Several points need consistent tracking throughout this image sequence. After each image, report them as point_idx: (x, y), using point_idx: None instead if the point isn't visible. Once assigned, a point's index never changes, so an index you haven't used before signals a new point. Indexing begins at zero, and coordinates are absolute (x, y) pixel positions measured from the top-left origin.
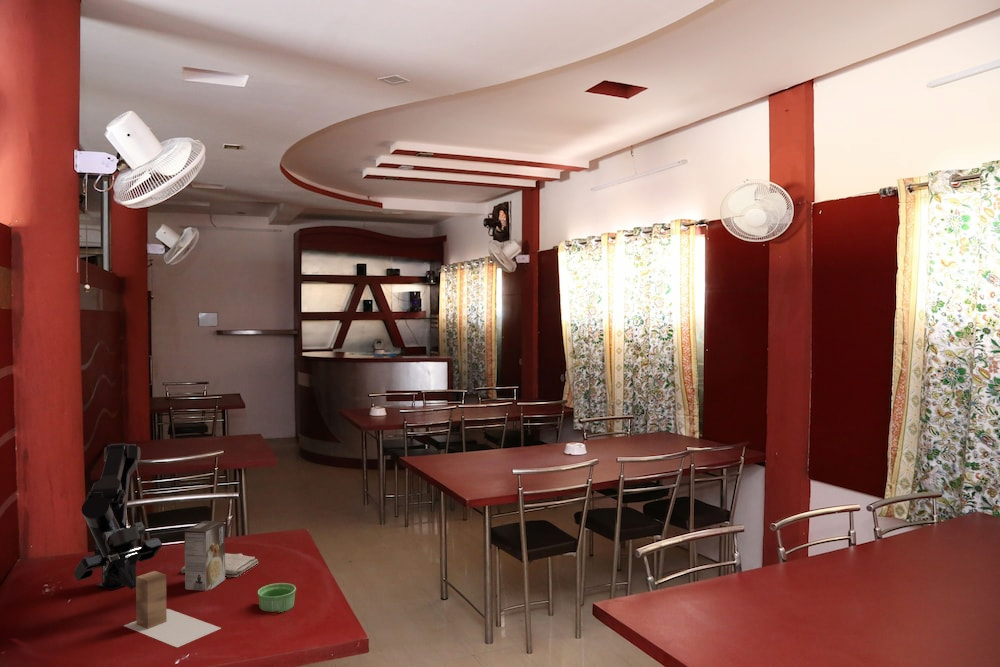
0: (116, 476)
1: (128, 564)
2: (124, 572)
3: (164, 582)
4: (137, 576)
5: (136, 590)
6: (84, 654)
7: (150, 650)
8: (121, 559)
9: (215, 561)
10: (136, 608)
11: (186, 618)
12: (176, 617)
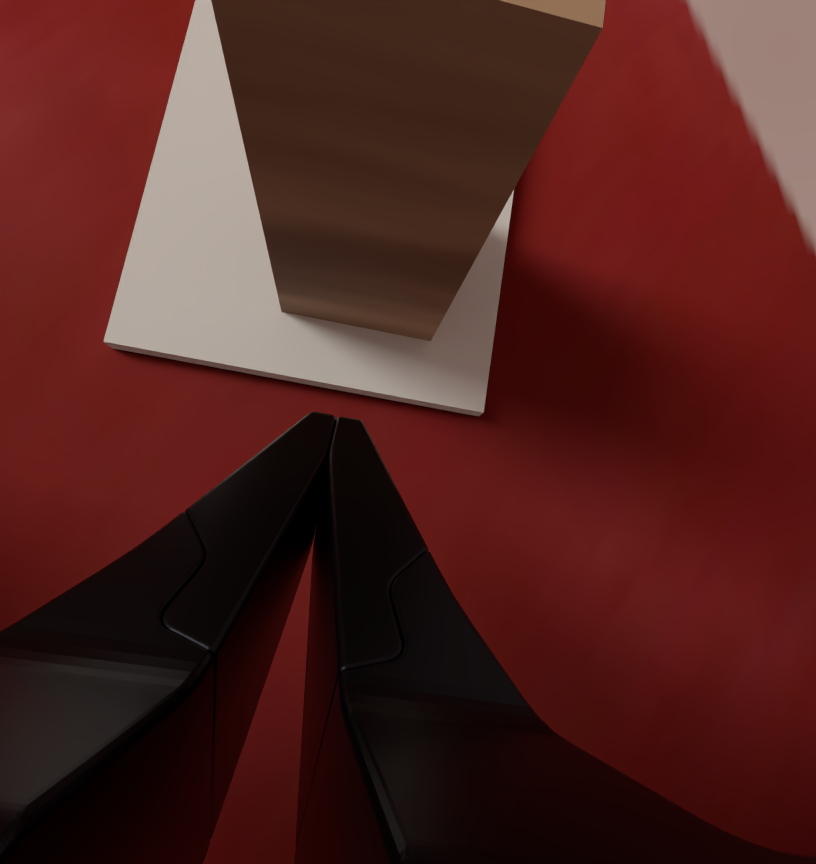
0: None
1: (175, 763)
2: (420, 590)
3: None
4: (577, 15)
5: (513, 183)
6: (812, 333)
7: (612, 29)
8: (538, 860)
9: None
10: (458, 288)
11: (210, 84)
12: (223, 160)
